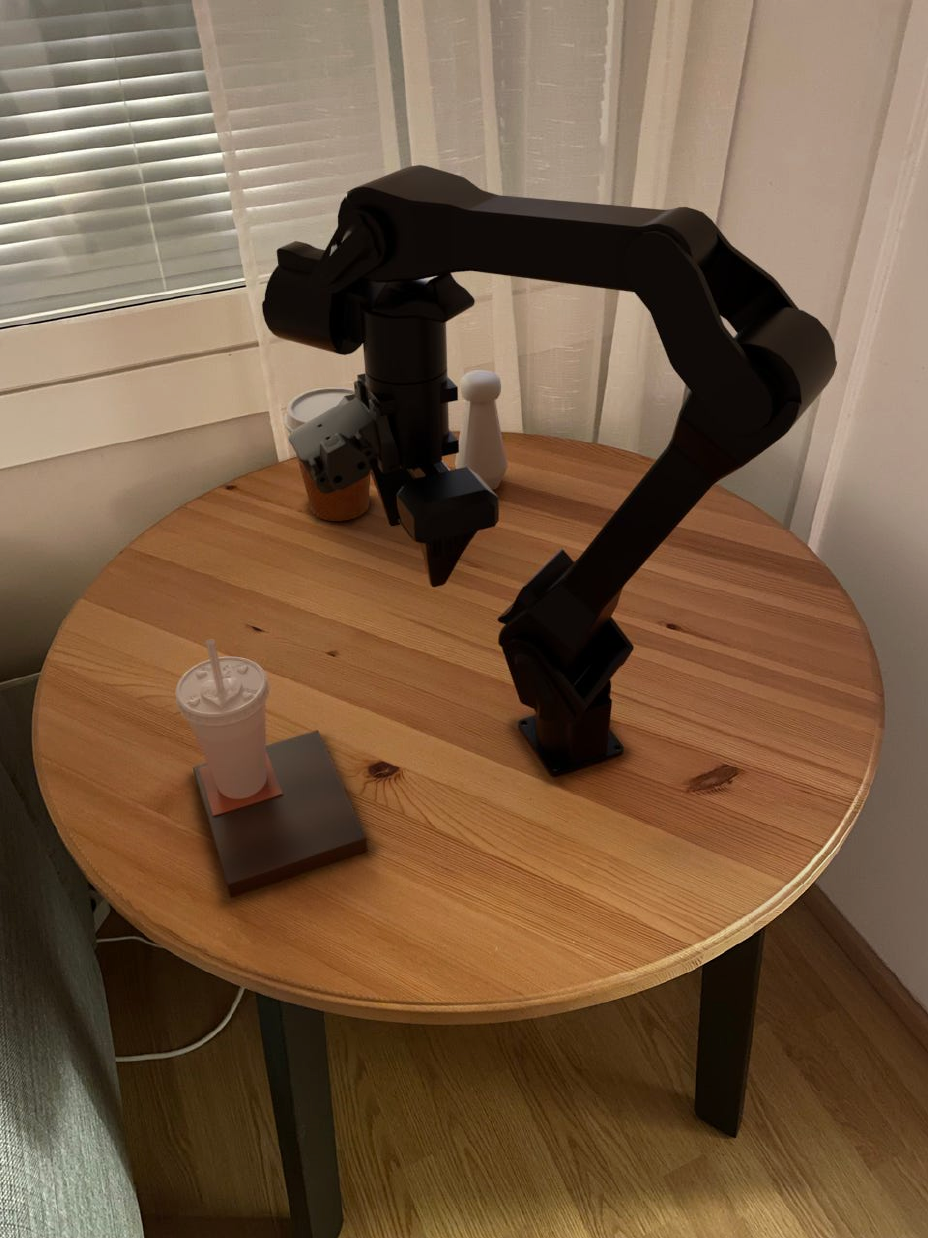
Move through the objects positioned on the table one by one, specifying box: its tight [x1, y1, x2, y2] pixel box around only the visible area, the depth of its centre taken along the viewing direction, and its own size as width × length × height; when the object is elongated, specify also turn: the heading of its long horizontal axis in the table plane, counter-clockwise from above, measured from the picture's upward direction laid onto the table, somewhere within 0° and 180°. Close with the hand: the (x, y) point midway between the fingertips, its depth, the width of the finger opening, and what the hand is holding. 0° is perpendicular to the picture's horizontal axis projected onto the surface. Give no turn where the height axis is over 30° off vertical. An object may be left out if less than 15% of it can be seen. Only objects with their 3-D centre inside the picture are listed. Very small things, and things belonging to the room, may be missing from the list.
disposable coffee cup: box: [283, 386, 371, 522], centre depth 106 cm, size 10×10×12 cm
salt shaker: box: [454, 369, 509, 491], centre depth 109 cm, size 6×6×13 cm
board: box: [192, 729, 368, 898], centre depth 75 cm, size 12×10×2 cm
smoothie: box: [174, 638, 270, 799], centre depth 71 cm, size 6×6×14 cm
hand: (415, 553), depth 79 cm, fingers open, 9 cm apart
